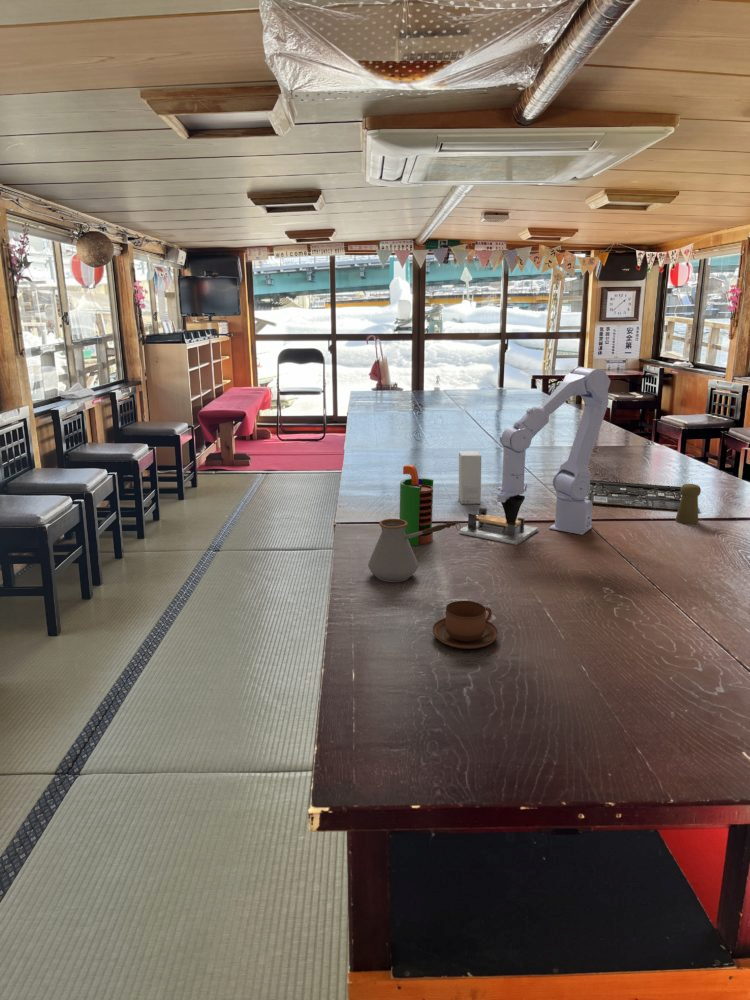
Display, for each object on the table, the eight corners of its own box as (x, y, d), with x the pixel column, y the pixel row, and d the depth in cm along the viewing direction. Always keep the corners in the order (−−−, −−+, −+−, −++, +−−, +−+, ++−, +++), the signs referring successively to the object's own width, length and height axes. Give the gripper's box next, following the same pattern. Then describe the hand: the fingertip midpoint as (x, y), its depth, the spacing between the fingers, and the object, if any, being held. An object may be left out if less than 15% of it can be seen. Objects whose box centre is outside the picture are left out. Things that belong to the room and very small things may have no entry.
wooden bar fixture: (537, 530, 188) (538, 513, 186) (517, 544, 177) (518, 526, 175) (481, 520, 197) (482, 504, 196) (458, 533, 186) (459, 515, 185)
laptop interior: (577, 505, 214) (577, 499, 213) (581, 483, 239) (582, 478, 239) (699, 517, 203) (700, 511, 202) (690, 493, 228) (691, 487, 228)
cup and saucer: (455, 619, 135) (456, 590, 133) (509, 637, 128) (510, 606, 126) (419, 641, 126) (420, 610, 124) (475, 661, 119) (476, 629, 117)
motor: (430, 546, 176) (431, 471, 170) (396, 544, 177) (396, 469, 172) (434, 534, 185) (436, 462, 180) (402, 532, 187) (402, 461, 182)
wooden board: (521, 524, 185) (521, 520, 185) (514, 528, 181) (514, 524, 181) (479, 516, 192) (479, 512, 192) (471, 520, 188) (471, 516, 188)
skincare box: (480, 504, 214) (482, 455, 209) (459, 504, 214) (461, 455, 210) (477, 497, 222) (479, 450, 218) (457, 497, 222) (458, 450, 218)
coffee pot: (359, 581, 154) (359, 517, 150) (380, 564, 164) (380, 504, 160) (450, 596, 145) (452, 529, 141) (465, 577, 155) (468, 514, 151)
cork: (694, 518, 198) (698, 482, 195) (701, 525, 192) (706, 487, 189) (672, 518, 199) (676, 481, 196) (679, 524, 193) (683, 486, 190)
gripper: (510, 466, 188) (508, 513, 192) (487, 476, 177) (485, 526, 181) (535, 469, 184) (532, 517, 188) (513, 480, 173) (510, 530, 177)
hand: (510, 522), depth 184 cm, fingers closed, pressing on wooden board
